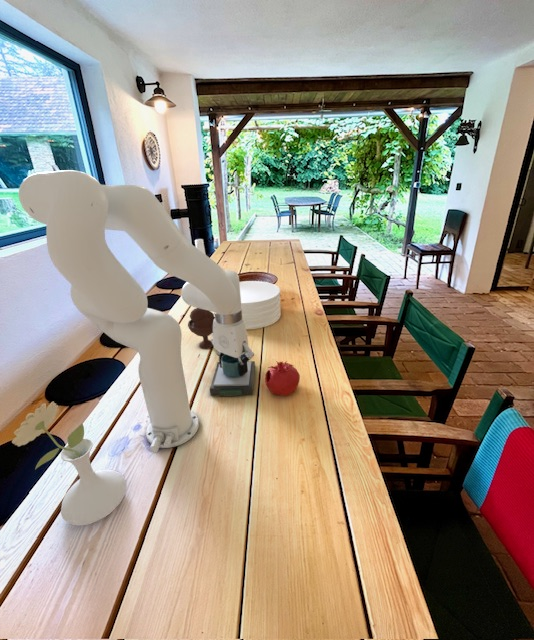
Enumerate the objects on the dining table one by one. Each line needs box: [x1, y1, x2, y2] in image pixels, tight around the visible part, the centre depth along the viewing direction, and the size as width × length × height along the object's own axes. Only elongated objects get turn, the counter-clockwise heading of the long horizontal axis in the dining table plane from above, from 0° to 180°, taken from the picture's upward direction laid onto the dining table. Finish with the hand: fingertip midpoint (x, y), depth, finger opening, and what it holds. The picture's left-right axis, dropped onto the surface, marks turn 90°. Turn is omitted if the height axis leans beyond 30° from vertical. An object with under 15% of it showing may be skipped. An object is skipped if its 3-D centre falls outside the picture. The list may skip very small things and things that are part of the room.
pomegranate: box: [264, 360, 301, 397], centre depth 91 cm, size 10×10×9 cm
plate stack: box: [239, 280, 282, 331], centre depth 140 cm, size 28×28×12 cm
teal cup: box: [221, 354, 244, 377], centre depth 96 cm, size 7×7×5 cm
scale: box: [209, 360, 256, 397], centre depth 97 cm, size 15×12×3 cm
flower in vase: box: [11, 400, 127, 526], centre depth 57 cm, size 13×11×25 cm
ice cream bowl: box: [187, 307, 215, 350], centre depth 116 cm, size 11×11×15 cm
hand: (233, 369), depth 96 cm, fingers closed on teal cup, 7 cm apart
